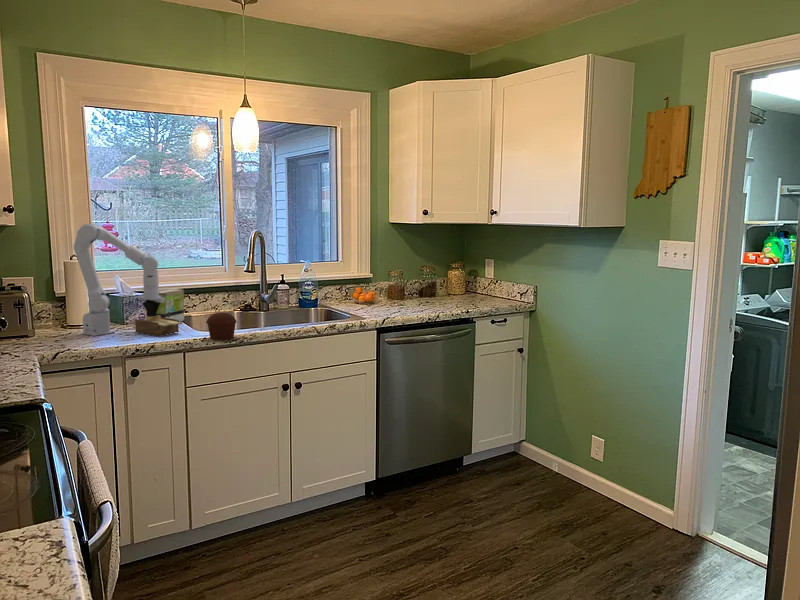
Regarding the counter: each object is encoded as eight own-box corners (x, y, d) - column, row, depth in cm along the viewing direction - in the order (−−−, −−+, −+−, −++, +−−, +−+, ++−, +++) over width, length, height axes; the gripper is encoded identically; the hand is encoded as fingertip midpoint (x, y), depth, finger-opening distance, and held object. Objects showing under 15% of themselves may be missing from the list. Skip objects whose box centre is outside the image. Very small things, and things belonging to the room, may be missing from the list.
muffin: (233, 334, 251) (232, 310, 250) (240, 339, 242) (239, 314, 241) (203, 336, 246) (202, 311, 244) (209, 341, 236) (208, 315, 235)
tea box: (166, 325, 270) (165, 292, 268) (146, 324, 272) (144, 291, 270) (185, 320, 284) (184, 288, 282) (165, 319, 286) (164, 288, 284)
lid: (164, 326, 242) (164, 320, 242) (142, 323, 250) (142, 317, 249) (182, 323, 250) (182, 317, 249) (160, 320, 257) (159, 314, 256)
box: (157, 336, 244) (157, 322, 243) (135, 332, 251) (135, 319, 251) (178, 332, 253) (178, 319, 252) (156, 329, 260) (156, 316, 259)
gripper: (170, 286, 252) (171, 319, 253) (148, 284, 259) (149, 316, 261) (156, 287, 246) (157, 321, 247) (133, 285, 253) (134, 318, 255)
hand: (152, 318), depth 254 cm, fingers closed
